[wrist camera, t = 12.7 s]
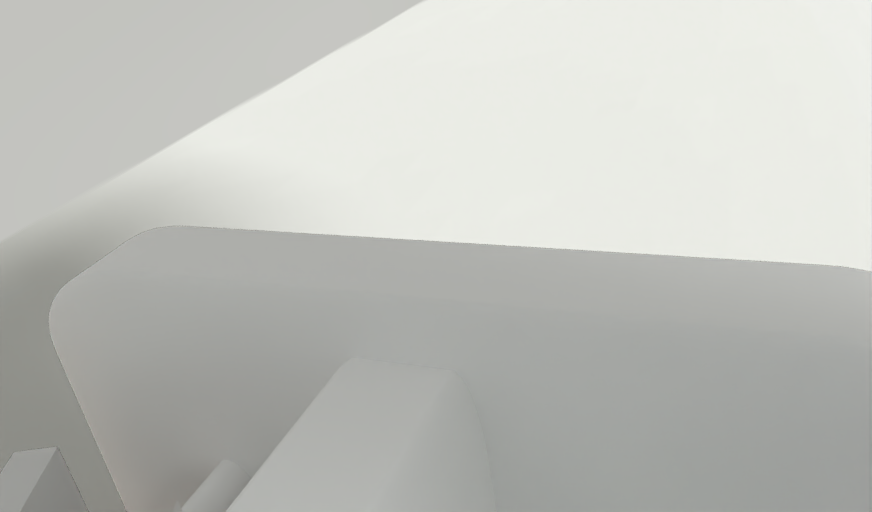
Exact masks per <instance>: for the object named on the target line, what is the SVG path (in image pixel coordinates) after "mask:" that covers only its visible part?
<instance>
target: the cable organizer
mask: <svg viewBox="0 0 872 512" xmlns="http://www.w3.org/2000/svg"><path fill="white" fill-rule="evenodd" d="M48 324H49V331H50V337H51V339H52V342H53V345H54V348H55V351H56V353H57V355H58V357H59V360H60V362H61V364H62V366H63V369H64V371H65V373H66V375H67V378H68V380H69V382H70V385H71V387H72V389H73V391H74V394H75V396H76V398H77V400H78V403H79V405H80V407H81V409H82V412H83V414H84V416H85V419H86V421H87V423H88V425H89V428H90V430H91V432H92V434H93V437H94V439H95V441H96V444H97V446H98V448H99V450H100V453H101V455H102V457H103V459H104V462H105V464H106V466H107V468H108V471H109V473H110V475H111V478H112V480H113V482H114V484H115V487H116V489H117V491H118V493H119V496H120V498H121V500H122V502H123V505H124V507H125V509H126V512H872V272H871V271H865V270H860V269H855V268H849V267H841V266H831V265H816V264H800V263H783V262H767V261H750V260H734V259H718V258H701V257H685V256H668V255H652V254H636V253H619V252H603V251H587V250H570V249H554V248H537V247H521V246H505V245H488V244H472V243H456V242H439V241H423V240H406V239H390V238H374V237H357V236H341V235H325V234H308V233H292V232H275V231H259V230H243V229H226V228H210V227H193V226H169V227H162V228H155V229H152V230H149V231H146V232H143V233H140V234H138V235H136V236H134V237H133V238H131V239H129V240H127V241H126V242H125V243H123V244H122V245H120V246H119V247H117V248H116V249H115V250H113V251H112V252H110V253H109V254H107V255H106V256H105V257H103V258H102V259H100V260H99V261H97V262H96V263H95V264H93V265H92V266H90V267H89V268H87V269H86V270H84V271H83V272H82V273H80V274H79V275H77V276H76V277H74V278H73V279H72V280H70V281H69V282H68V283H67V284H65V285H64V286H63V287H62V288H61V289H60V290H59V292H58V293H57V295H56V296H55V298H54V299H53V301H52V304H51V308H50V311H49V323H48Z"/></svg>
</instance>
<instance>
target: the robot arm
mask: <svg viewBox="0 0 872 512" xmlns="http://www.w3.org/2000/svg"><path fill="white" fill-rule="evenodd" d="M0 512H89V511H88V509H87V507H86V505H85V503H84V500H83V498H82V496H81V494H80V492H79V490H78V488H77V486H76V484H75V482H74V479H73V477H72V475H71V473H70V471H69V469H68V467H67V465H66V463H65V460H64V458H63V456H62V454H61V452H60V450H59V448H58V446H56V447H48V448H40V449H33V450H25V451H17V452H13V454H12V456H11V457H10V459H9V460H8V462H7V463H6V465H5V466H4V468H3V470H2V471H1V473H0Z"/></svg>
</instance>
